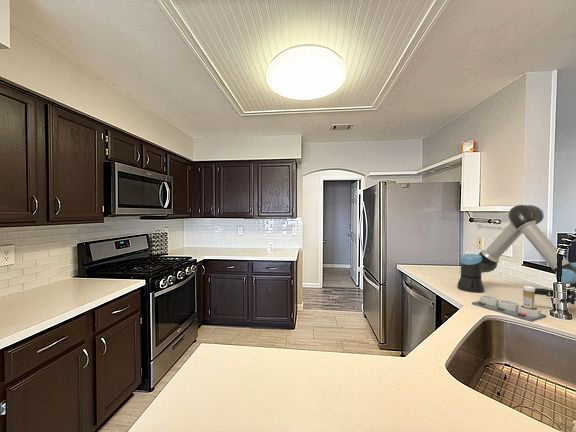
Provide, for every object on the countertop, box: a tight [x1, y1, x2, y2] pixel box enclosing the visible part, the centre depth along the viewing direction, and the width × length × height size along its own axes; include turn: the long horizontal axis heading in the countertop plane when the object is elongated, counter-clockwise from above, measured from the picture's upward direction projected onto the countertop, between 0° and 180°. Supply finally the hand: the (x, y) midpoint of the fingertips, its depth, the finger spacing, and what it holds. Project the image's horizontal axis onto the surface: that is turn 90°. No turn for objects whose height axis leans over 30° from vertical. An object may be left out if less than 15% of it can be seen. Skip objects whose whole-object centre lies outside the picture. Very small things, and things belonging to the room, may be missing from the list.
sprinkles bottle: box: [522, 285, 536, 310], centre depth 138 cm, size 5×5×14 cm
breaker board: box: [471, 294, 547, 323], centre depth 145 cm, size 27×15×4 cm, turn 26°
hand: (538, 296), depth 139 cm, fingers open, 13 cm apart
